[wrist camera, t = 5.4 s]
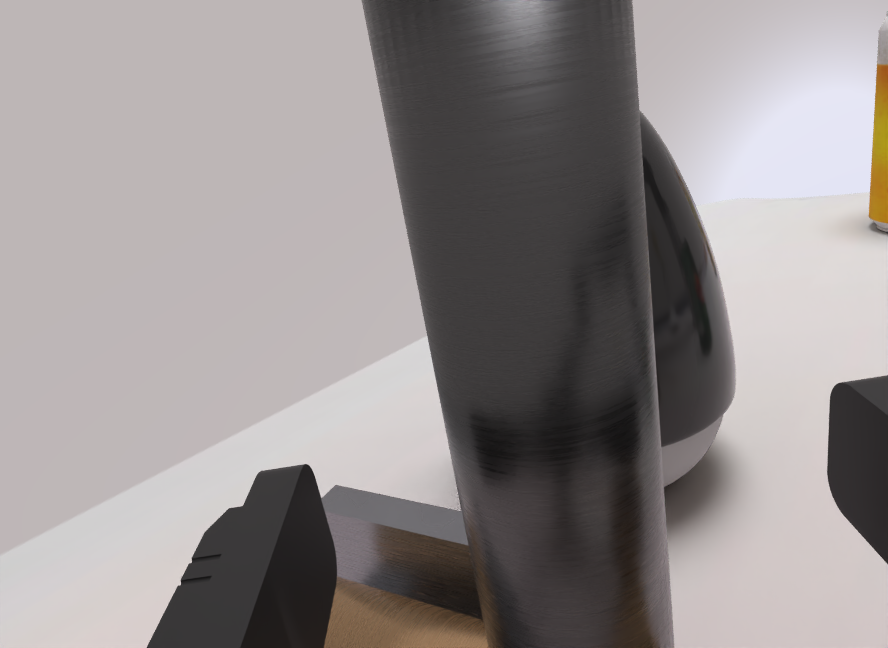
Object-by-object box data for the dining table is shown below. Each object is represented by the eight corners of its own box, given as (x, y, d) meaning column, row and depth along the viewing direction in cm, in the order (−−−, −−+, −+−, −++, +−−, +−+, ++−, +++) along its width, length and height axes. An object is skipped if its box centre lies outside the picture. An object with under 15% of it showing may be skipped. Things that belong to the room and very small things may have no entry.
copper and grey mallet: (365, 644, 21) (195, 40, 14) (1052, 891, 12) (1334, -266, 6) (286, 748, 18) (34, 52, 12) (1109, 1157, 10) (1719, -476, 3)
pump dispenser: (480, 418, 34) (426, 106, 28) (690, 389, 33) (675, 61, 27) (487, 557, 24) (408, 127, 19) (783, 522, 23) (788, 59, 18)
